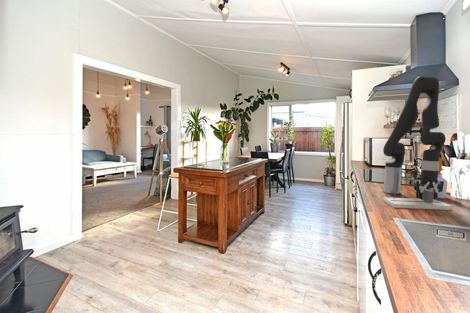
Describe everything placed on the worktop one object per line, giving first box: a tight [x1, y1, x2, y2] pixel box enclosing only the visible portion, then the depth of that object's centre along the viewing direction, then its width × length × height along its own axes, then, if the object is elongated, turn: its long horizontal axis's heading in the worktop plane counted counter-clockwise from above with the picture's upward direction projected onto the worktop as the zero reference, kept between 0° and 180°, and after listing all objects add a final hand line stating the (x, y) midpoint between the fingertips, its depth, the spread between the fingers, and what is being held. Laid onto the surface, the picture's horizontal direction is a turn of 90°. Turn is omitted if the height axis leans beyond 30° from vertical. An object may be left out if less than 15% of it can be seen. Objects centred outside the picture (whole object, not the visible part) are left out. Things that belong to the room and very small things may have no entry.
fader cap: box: [421, 189, 434, 202], centre depth 136 cm, size 5×3×6 cm, turn 173°
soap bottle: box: [431, 157, 448, 199], centre depth 153 cm, size 9×9×25 cm
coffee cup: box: [415, 176, 431, 199], centre depth 149 cm, size 9×8×13 cm
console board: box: [382, 196, 452, 211], centre depth 137 cm, size 13×28×2 cm, turn 83°
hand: (427, 198), depth 136 cm, fingers open, 6 cm apart
